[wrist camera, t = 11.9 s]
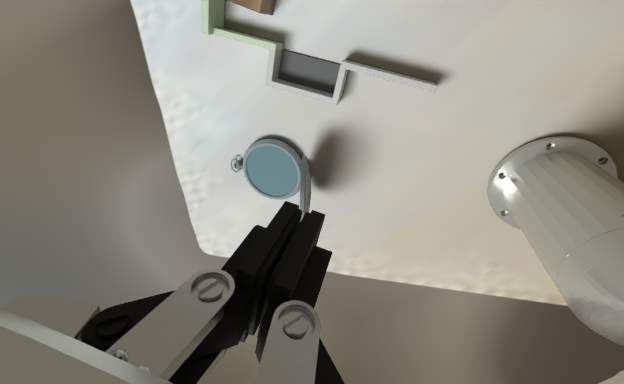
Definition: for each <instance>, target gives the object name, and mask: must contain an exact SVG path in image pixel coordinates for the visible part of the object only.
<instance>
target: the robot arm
mask: <svg viewBox="0 0 624 384" xmlns="http://www.w3.org/2000/svg"><path fill="white" fill-rule="evenodd" d="M549 143H550V144H549ZM548 144H549V145H548ZM547 145H548V146H547ZM500 173H502V174H500ZM487 190H488V199H489V202H490V205H491V207H492V209H493V211H494V212H495V213H496V215H497V216H498V217H499V218H500V219H501V220H503V221H504V222H505V223H507V224H509V225H511V226H513V227H515V228H518V229H521V230H522V232H523V234H524V235H525V237H526V238H527V240H528V242H529V243H530V245H531V247H532V248H533V250H534V251H535V253H536V255H537V256H538V258H539V259H540V261H541V263H542V264H543V266H544V268H545V269H546V271H547V272H548V274H549V276H550V277H551V279H552V281H553V282H554V284H555V285H556V287H557V289H558V290H559V292H560V293H561V295H562V296H563V298H564V299H565V301H566V303H567V304H568V306H569V307H570V308H571V310H572V311H573V312H574V314H575V315H576V316H577V317H578V318H579V319H580V320H581V321H582V322H584V323H585V324H586V325H587V326H589V327H590V328H591V329H593V330H594V331H596V332H597V333H599V334H601V335H602V336H605V337H606V338H608V339H610V340H612V341H614V342H616V343H618V344H621V345H623V346H624V183H623V182H622V181H620V180H619V179H618V172H617V166H616V164H615V162H614V160H613V158H612V157H611V156H610V155H609V154H608V153H607V152H606V151H605V150H604V149H602V148H601V147H599V146H598V145H596V144H594V143H592V142H590V141H588V140H584V139H581V138H577V137H567V136H559V137H549V138H544V139H539V140H536V141H533V142H531V143H528V144H525V145H524V146H522V147H520V148H518V149H516V150H514V151H513V152H512V153H510V154H509V155H508V156H506V157H505V158H504V159H503V160H502V161H501V162H500V163H499V164H498V166H497V167H496V169H495V170H494V171H493V173H492V175H491V178H490V180H489V184H488V189H487ZM302 212H303V211H302V210H300V209H299V205H296V204H293V203H290V202H287V201H286V202H285V203H284V204H283V206H282V207H281V208H280V210H279V211H278V213H277V214H276V215H275V217H274V218H273V220H272V221H271V222H270V224H269V225H268V227H267V228H264V227H262V226H259V225H256V226H255V227H254V228H253V229H252V230H251V232H250V233H249V234H248V236H247V237H246V238H245V239H244V241H243V242H242V243H241V244H240V246H239V247H238V248H237V250H236V251H235V252H234V253H233V255H232V256H231V257H230V259H229V260H228V261H227V262H226V264H225V265H224V266H223V268H222V269H221V270H220V269H205V270H202V271H200V272H198V273H196V274H195V275H193V276H192V277H191V278H189V279H188V280H187V281H186V282H185V283H184V284H182V285H181V286H180V287H179V288H178V289H177V290H175V291H171V292H167V293H163V294H159V295H155V296H151V297H148V298H144V299H140V300H136V301H132V302H128V303H124V304H120V305H116V306H113V307H110V308H107V309H105V310H104V309H100V307H99V305H94V304H87V303H81V302H74V301H68V300H61V299H56V298H49V297H43V296H24V297H19V298H16V299H14V300H11V301H9V302H7V303H5V304H3V305H2V306H1V307H0V384H203V383H204V382H205V381H206V379H207V378H208V377H209V375H210V374H211V373H212V371H213V370H214V369H215V367H216V366H217V365H218V363H219V362H220V360H221V359H222V358H223V357H224V355H225V353H226V351H227V350H228V348H230V347H232V346H235V345H237V344H238V343H239V341H241V342H245V340H246V338H247V336H248V334H250V335H254V334H255V332H256V330H257V328H258V326H259V324H260V326H259V331H258V336H257V337H258V340H257V345H256V351H255V353H256V356H257V358H258V361H259V368H258V372H257V375H256V379H255V383H254V384H344V382H343V380H342V378H341V376H340V374H339V373H338V371H337V369H336V367H335V365H334V363H333V362H332V360H331V358H330V356H329V354H328V352H327V351H326V349H325V347H324V345H323V343H322V341H321V340H320V329H321V325H320V318H319V316H318V313H317V312H316V311H315V310H314V307H315V304H316V301H317V298H318V295H319V292H320V288H321V285H322V282H323V279H324V276H325V273H326V270H327V267H328V264H329V261H330V258H331V255H332V252H331V251H328V250H325V249H323V248H320V247H317V246H316V245H317V241H318V238H319V235H320V231H321V228H322V225H323V221H324V218H325V214H322V213H319V212H316V211H313V210H312V212H311V213H308V212H306V213H305V215H304V217H303V218H302V220H301V216H302ZM300 221H301V222H300ZM599 384H624V370H623V371H621V372H619V373H618V374H617V375H616V376H614V377H612V378H610V379H608V380H606V381H603V382H601V383H599Z"/></svg>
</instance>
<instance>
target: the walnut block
mask: <svg viewBox="0 0 624 384" xmlns="http://www.w3.org/2000/svg"><path fill="white" fill-rule="evenodd" d="M228 1H231V2H233V3H236V4H238V5H241V6H243V7H246V8H248V9H251V10H253V11H256V12H258V13H262V14H269V15H273V11H274V7H275V2H276V0H228Z"/></svg>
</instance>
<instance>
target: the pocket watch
mask: <svg viewBox="0 0 624 384" xmlns="http://www.w3.org/2000/svg"><path fill="white" fill-rule="evenodd" d="M233 160H236V161H237V162H236V163H235V164H234V168H236V169H237V170H238V171H235V170H234V169H233V167H232V161H233ZM231 168H232V170H233V171H234V172H239V170H240V169H241V168H243V170H244V174H245V177H246V179H247V181H248V183H249V184H250V185H251V187H252V188H253V189H254V190H255V191H257V192H258V193H259V194H261V195H263V196H265V197H267V198H271V199H287V198H289V197H292V196H293V195H295V194H296V193H297V192H298V191H299V190H300V210H302V211H303V212H302V216H301V220H302V218H303V217H304V215H305V213H306V212H308V213H309V207H310V199H311V181H310V172H309V167H308V162H307V157H305V156H303V157H302V160H301V158H300V157H299V155H298V154H297V152H296V151H295V150H294V149H293V148H292V147H291V146H289V145H288V144H286V143H284V142H282V141H279V140H276V139H262V140H258V141H256V142H254V143H253V144H252V145H251V146H250V147H249V148H248V149H247V151H246V152H245V155H244V158H243V165H241V163H240V162H238V160H237V159H232V160H231ZM300 222H301V221H300Z"/></svg>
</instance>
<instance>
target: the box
mask: <svg viewBox="0 0 624 384" xmlns="http://www.w3.org/2000/svg"><path fill="white" fill-rule="evenodd" d="M224 9H225V0H202V33H205V34H214V35H218V36H221V37H225V38H229V39H233V40H237V41H240V42H244V43H248V44H252V45H256V46H259V47H263V48H267V49H270V52H269V61H268V70H267V78H266V86H269V87H273V88H277V89H280V90H284V91H287V92H291V93H294V94H298V95H302V96H305V97H309V98H312V99H316V100H319V101H323V102H326V103H330V104H334V105H337V104H338V103H339V102H340V101H341V97H342V93H343V89H344V85H345V81H346V77H347V73H348V70H351V71H354V72H358V73H362V74H366V75H370V76H373V77H377V78H381V79H385V80H389V81H392V82H396V83H400V84H404V85H408V86H411V87H415V88H419V89H423V90H427V91H430V92H434V93H435V92H436V90H437V87H438V86H437V84H436V83H434V82H430V81H426V80H422V79H418V78H415V77H411V76H407V75H403V74H399V73H395V72H391V71H387V70H384V69H380V68H376V67H372V66H368V65H364V64H360V63H357V62H353V61H349V60H343V61H341V65H339V64H335V63H332V62H328V61H324V60H320V59H316V58H312V57H309V56H305V55H301V54H297V53H293V52H290V51H286V50H283V43H279V42H275V41H272V40H268V39H264V38H260V37H256V36H252V35H248V34H245V33H241V32H237V31H233V30H229V29H225V28H224Z"/></svg>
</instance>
